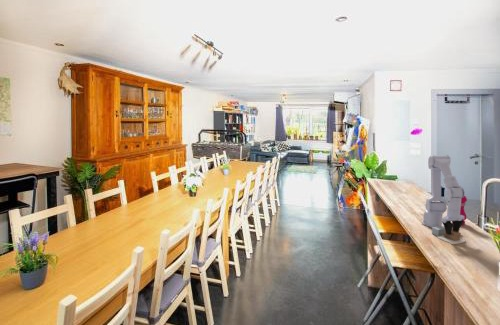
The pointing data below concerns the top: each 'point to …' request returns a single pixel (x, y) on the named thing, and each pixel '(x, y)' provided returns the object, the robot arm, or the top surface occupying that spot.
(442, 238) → the grey tile
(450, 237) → the walnut block
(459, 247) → the top surface
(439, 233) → the slate block
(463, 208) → the pepper mill
